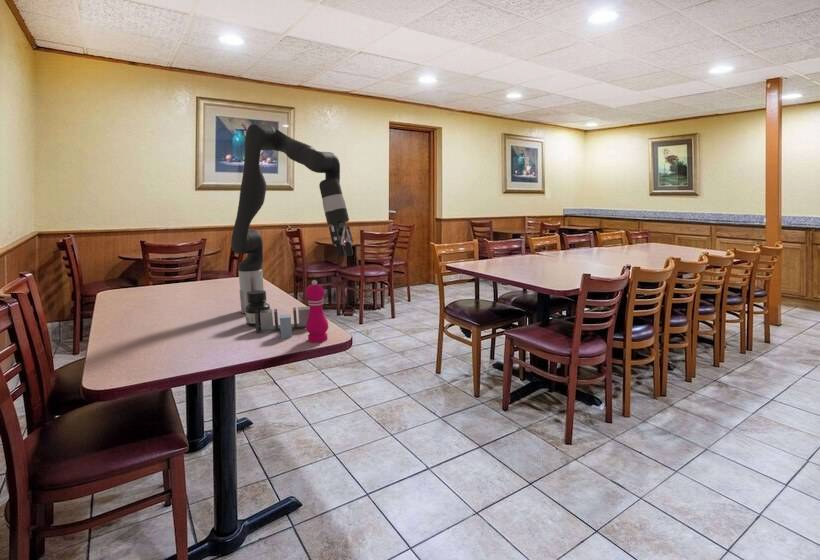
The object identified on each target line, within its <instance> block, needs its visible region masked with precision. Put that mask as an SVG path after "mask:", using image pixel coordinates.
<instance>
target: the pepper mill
mask: <svg viewBox="0 0 820 560" xmlns="http://www.w3.org/2000/svg"><path fill="white" fill-rule="evenodd" d="M325 293H326V292H325V289H324V287H323V286H322V285H320V284H318V281H317V280H316V279H313V280H312V281H311V284H310V285H309V286H307V288H306V289H305V297H306V298H307V299H308V300H307V305H308V306H309V308H310V313H309V317H308V320H307V323H306V329H305V330H306V332H308V335H307V339H308V342H310V343H314V342H318V343H323V341H324V342H326V341H327V340H328V333H327V331H328V330H329V323H328V320H327V317H326V316H325V314H324V310H323V305H324V299H323V298H324V296H325Z"/></svg>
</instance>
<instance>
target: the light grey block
mask: <svg viewBox="0 0 820 560" xmlns="http://www.w3.org/2000/svg"><path fill="white" fill-rule="evenodd" d="M279 323H280V324H279V325H280V328H281V331H280V337H281V339H290V338H289V337H292V338H293V333H292V331H293V330H292V329H291V324H292V318H291V313H285V314H279Z"/></svg>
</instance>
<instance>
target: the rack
mask: <svg viewBox="0 0 820 560" xmlns="http://www.w3.org/2000/svg"><path fill="white" fill-rule="evenodd" d="M292 311H293V314H292V315H293V323H291V329H292V331H293V330H294V329H297V330H306V329H305V328H306V323H307V320H308V317H309V313H310V307H309V305H308V306H298V307H292ZM297 312H298V320H297ZM273 314H274V315H273ZM278 315H279V313H278V308H274V309H272V308H270V310H260V321H261V326H260V325H259V313H258V311H255V324H256V326H255V334H261V333H262V334H263V333H273V332H281V328H280V324H279V316H278ZM294 331H295V330H294Z"/></svg>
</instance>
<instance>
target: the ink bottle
mask: <svg viewBox="0 0 820 560" xmlns="http://www.w3.org/2000/svg"><path fill="white" fill-rule="evenodd" d="M247 301H248V303H249V304H248V305H247V306H246V307H245V313H244V314H245V323H246V325H247V326H251V327H256V324H255V311H258V313H259V325H260V327H261V321H260V310H270V309H271V305H270V304H269V303H268V302H267V291H266V290H255V291H249V292H247Z"/></svg>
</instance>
